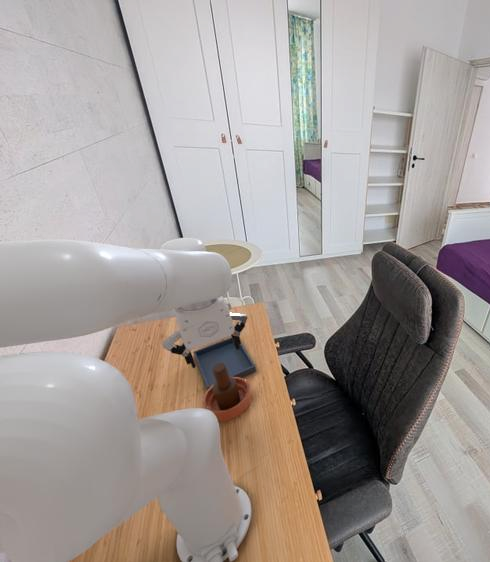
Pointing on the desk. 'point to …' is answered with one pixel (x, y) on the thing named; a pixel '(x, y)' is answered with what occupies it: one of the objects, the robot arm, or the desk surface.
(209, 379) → the tray
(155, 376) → the desk surface
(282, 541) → the desk surface
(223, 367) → the bottle
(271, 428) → the desk surface
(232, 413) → the bowl
